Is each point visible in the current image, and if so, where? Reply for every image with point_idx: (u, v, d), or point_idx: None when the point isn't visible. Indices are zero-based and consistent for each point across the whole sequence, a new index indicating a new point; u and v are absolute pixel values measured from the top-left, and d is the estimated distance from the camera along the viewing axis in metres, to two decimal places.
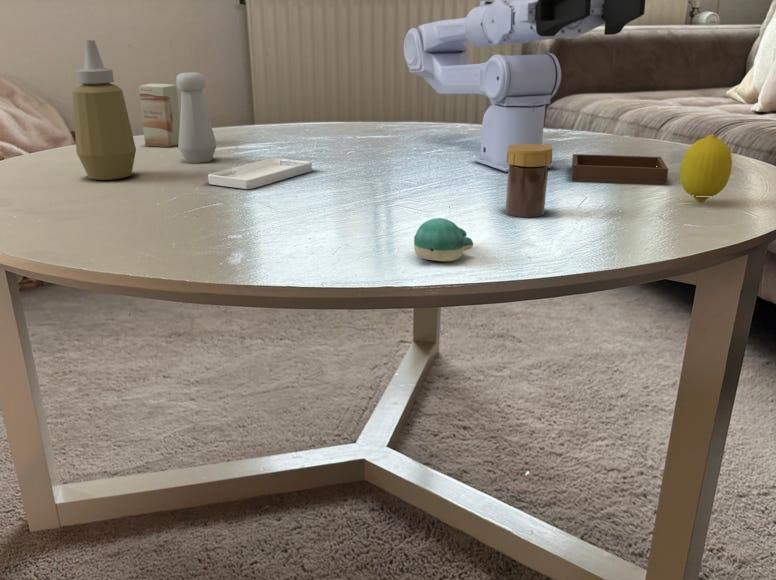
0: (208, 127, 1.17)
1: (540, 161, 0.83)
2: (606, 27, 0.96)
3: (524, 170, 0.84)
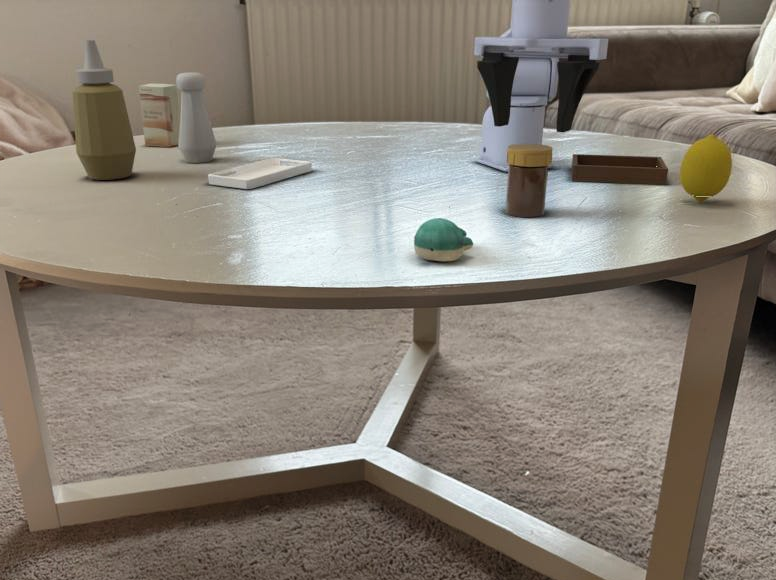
0: (208, 127, 1.17)
1: (540, 161, 0.83)
2: None
3: (524, 170, 0.84)
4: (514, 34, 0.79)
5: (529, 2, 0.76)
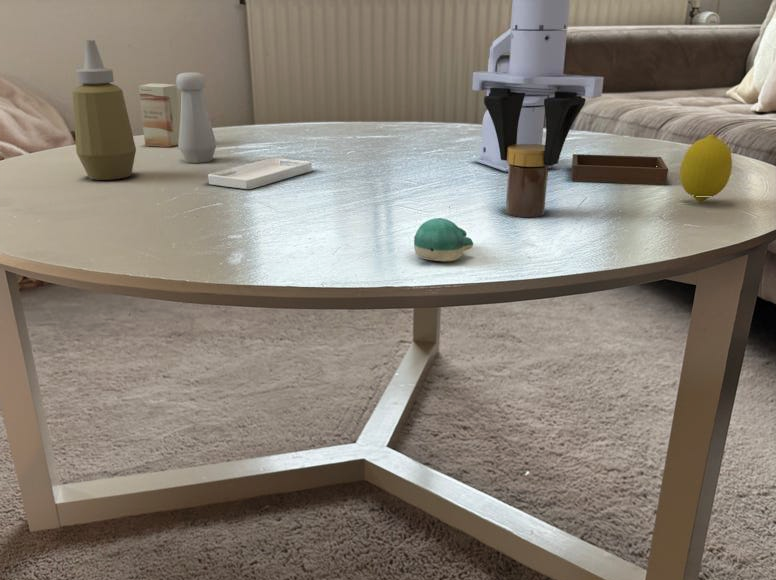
0: (208, 127, 1.17)
1: (540, 161, 0.83)
2: None
3: (524, 170, 0.84)
4: (511, 71, 0.81)
5: (526, 41, 0.78)
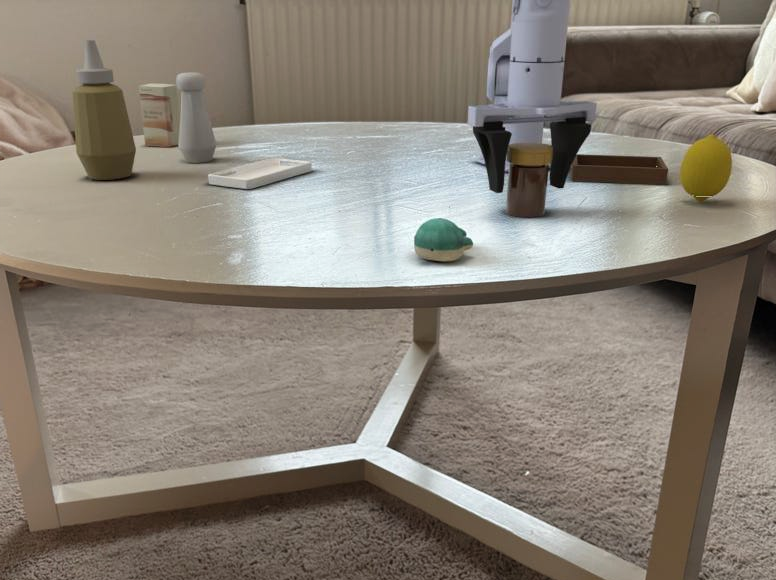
0: (208, 127, 1.17)
1: None
2: (552, 128, 0.87)
3: (527, 171, 0.84)
4: (529, 103, 0.80)
5: (549, 73, 0.79)
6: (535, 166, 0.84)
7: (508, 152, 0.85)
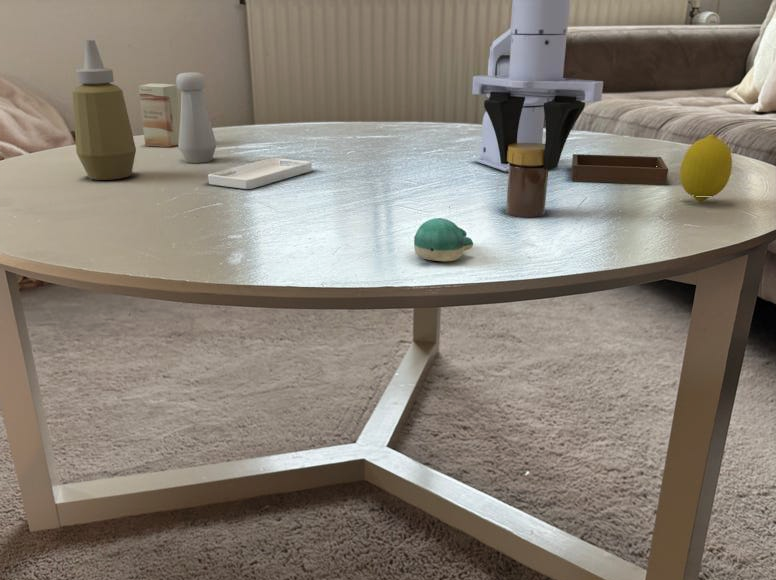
0: (208, 127, 1.17)
1: None
2: None
3: (527, 170, 0.84)
4: (511, 75, 0.81)
5: (526, 45, 0.78)
6: (535, 166, 0.84)
7: (508, 152, 0.85)
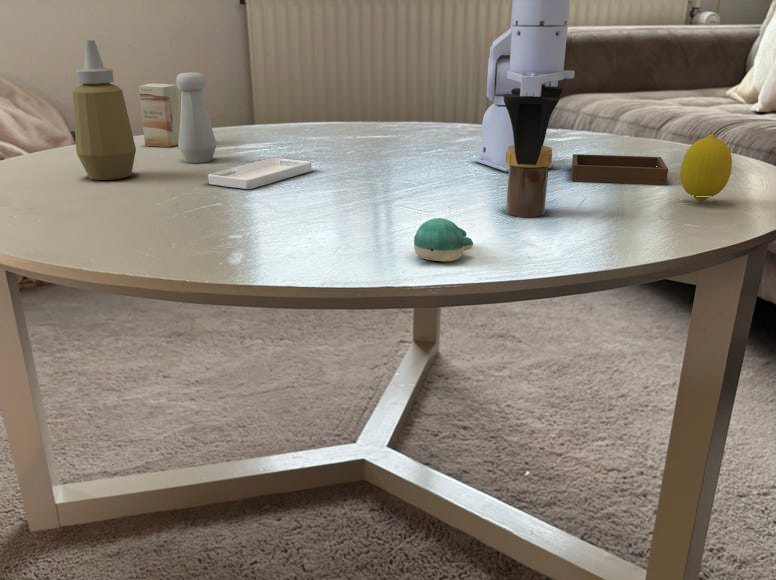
0: (208, 127, 1.17)
1: None
2: None
3: (530, 171, 0.84)
4: (557, 68, 0.79)
5: (566, 36, 0.79)
6: None
7: (544, 157, 0.83)
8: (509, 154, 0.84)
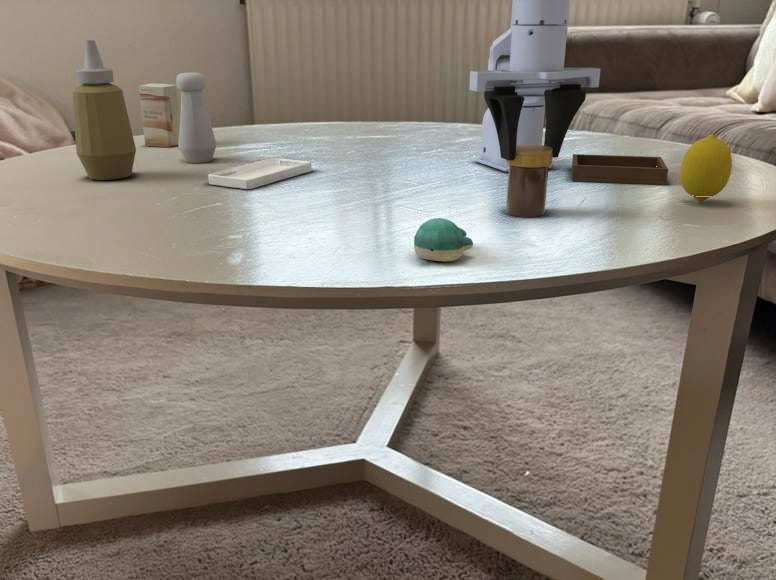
0: (208, 127, 1.17)
1: None
2: (546, 96, 0.85)
3: (530, 171, 0.84)
4: (531, 68, 0.79)
5: (553, 36, 0.77)
6: None
7: (544, 157, 0.83)
8: None
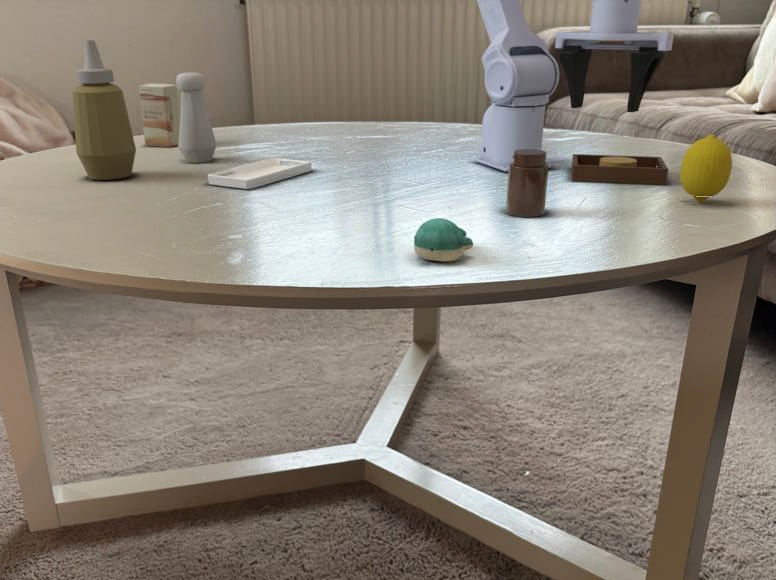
0: (208, 127, 1.17)
1: None
2: (576, 58, 0.97)
3: (530, 171, 0.84)
4: None
5: None
6: (537, 166, 0.84)
7: None
8: (635, 165, 1.04)
